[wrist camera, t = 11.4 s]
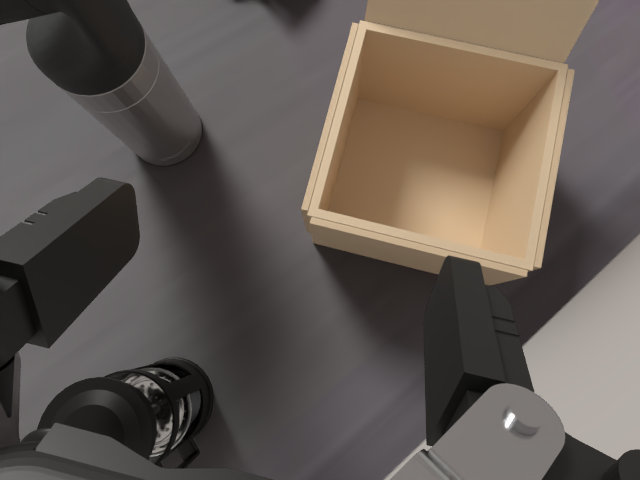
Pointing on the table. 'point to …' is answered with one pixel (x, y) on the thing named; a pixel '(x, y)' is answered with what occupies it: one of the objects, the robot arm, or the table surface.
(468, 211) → the carton
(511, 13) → the carton flap
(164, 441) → the french press
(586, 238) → the table surface
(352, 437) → the table surface
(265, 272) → the table surface
